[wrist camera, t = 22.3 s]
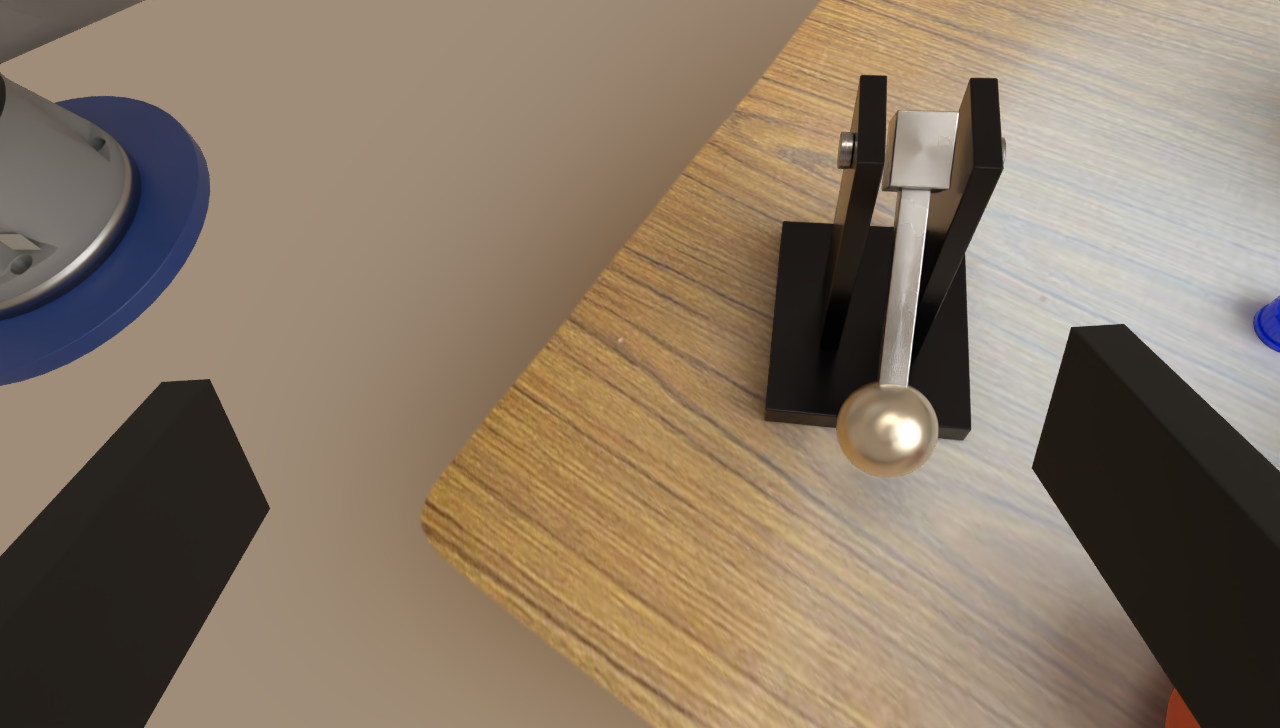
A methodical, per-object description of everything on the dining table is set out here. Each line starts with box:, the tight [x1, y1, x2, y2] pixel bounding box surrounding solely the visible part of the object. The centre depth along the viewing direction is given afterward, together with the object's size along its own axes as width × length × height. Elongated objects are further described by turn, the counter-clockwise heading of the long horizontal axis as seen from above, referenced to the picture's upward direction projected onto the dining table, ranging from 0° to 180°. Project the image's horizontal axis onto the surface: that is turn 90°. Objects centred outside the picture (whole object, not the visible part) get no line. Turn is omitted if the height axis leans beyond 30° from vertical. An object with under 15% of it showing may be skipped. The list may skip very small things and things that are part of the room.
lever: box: [836, 110, 959, 478], centre depth 30 cm, size 14×4×4 cm
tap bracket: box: [765, 75, 1006, 440], centre depth 35 cm, size 12×10×16 cm
